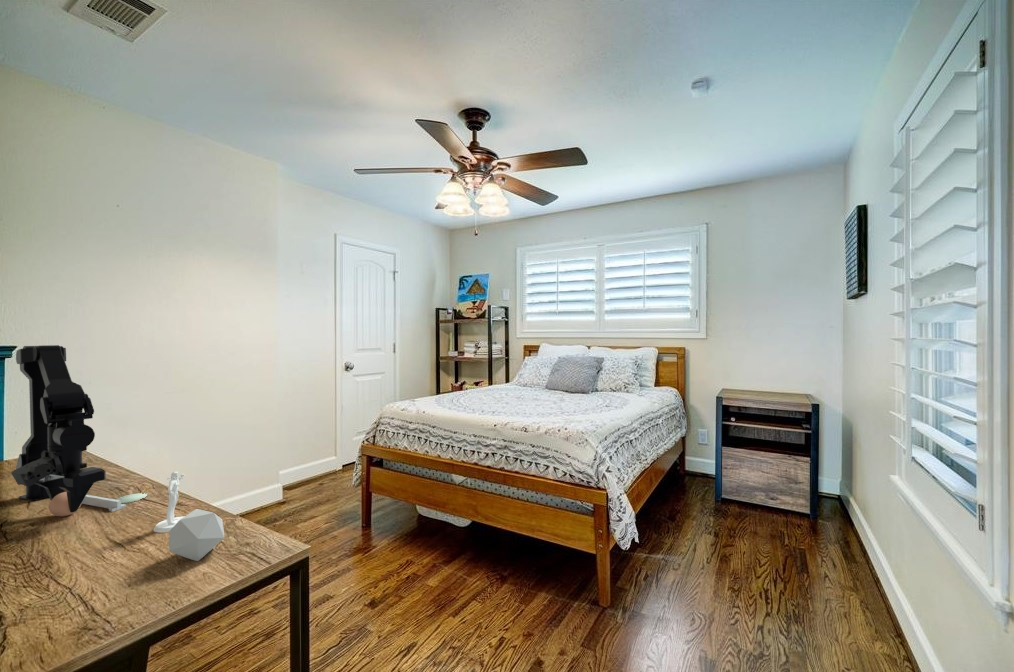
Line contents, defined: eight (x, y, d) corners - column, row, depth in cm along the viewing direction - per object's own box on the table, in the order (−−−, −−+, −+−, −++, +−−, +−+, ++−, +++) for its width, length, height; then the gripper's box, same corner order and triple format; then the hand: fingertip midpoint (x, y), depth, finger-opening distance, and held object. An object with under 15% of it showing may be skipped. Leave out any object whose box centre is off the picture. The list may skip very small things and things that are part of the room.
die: (235, 553, 86) (232, 503, 91) (204, 550, 79) (202, 496, 83) (191, 571, 85) (191, 520, 90) (155, 570, 78) (157, 514, 83)
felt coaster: (109, 501, 112) (109, 500, 112) (137, 493, 118) (137, 492, 118) (126, 504, 110) (126, 503, 110) (153, 495, 116) (153, 494, 116)
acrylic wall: (69, 504, 110) (69, 496, 110) (84, 499, 113) (84, 492, 113) (112, 511, 105) (112, 503, 105) (126, 507, 108) (126, 499, 108)
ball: (43, 518, 102) (42, 494, 102) (72, 509, 107) (72, 487, 107) (58, 521, 100) (57, 497, 100) (87, 512, 105) (87, 489, 105)
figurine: (188, 529, 96) (188, 474, 96) (148, 535, 93) (147, 478, 93) (197, 516, 102) (196, 465, 102) (159, 521, 100) (159, 468, 100)
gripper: (-7, 449, 99) (-7, 518, 99) (44, 456, 93) (45, 530, 93) (57, 438, 109) (57, 501, 109) (107, 443, 103) (107, 510, 103)
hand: (65, 510), depth 103 cm, fingers closed on ball, 5 cm apart
